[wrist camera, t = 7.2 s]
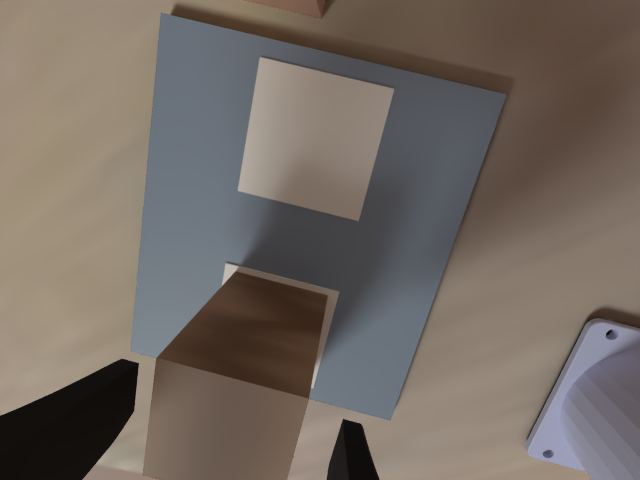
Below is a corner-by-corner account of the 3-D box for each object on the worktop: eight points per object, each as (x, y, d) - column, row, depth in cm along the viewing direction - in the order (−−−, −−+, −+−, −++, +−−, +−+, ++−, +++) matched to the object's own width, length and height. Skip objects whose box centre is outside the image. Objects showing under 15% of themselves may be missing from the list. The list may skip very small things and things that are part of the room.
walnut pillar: (328, 295, 17) (309, 398, 10) (307, 374, 18) (277, 512, 11) (235, 271, 17) (156, 357, 10) (221, 351, 18) (142, 475, 12)
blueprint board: (501, 95, 15) (507, 94, 14) (389, 411, 19) (390, 421, 18) (168, 17, 15) (159, 11, 14) (137, 344, 20) (129, 352, 19)
